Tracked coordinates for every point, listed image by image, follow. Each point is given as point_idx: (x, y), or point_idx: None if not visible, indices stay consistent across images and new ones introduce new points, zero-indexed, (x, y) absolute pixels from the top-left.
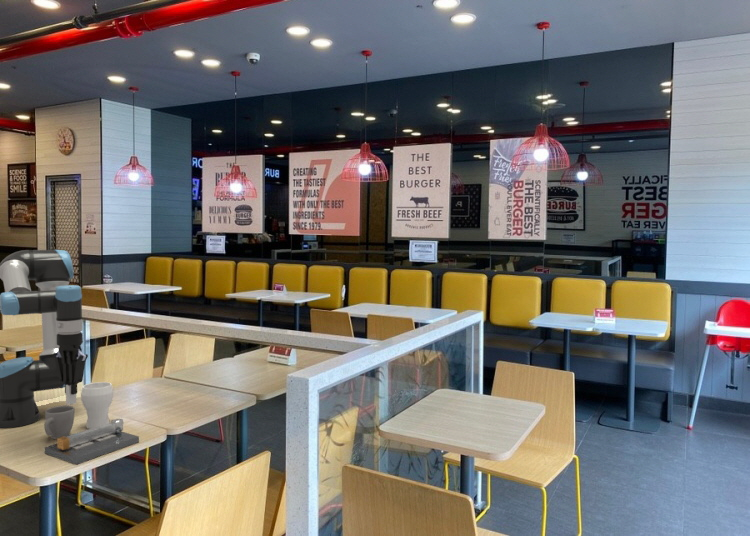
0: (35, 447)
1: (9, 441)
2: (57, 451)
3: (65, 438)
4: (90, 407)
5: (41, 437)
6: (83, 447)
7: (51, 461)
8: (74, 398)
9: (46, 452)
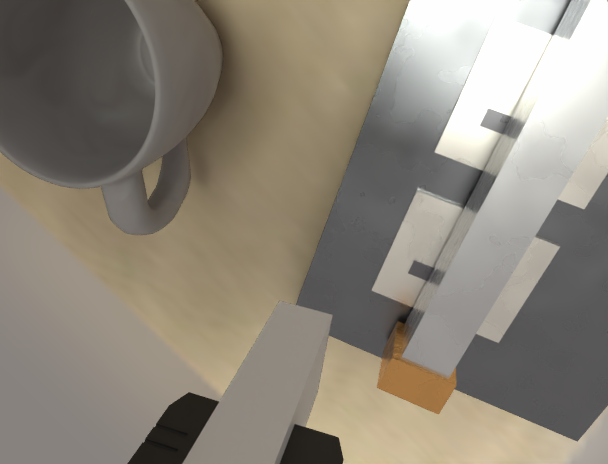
0: (189, 234)
1: (6, 179)
2: None
3: (435, 392)
4: None
5: None
6: (523, 306)
7: None
8: (313, 377)
9: None
